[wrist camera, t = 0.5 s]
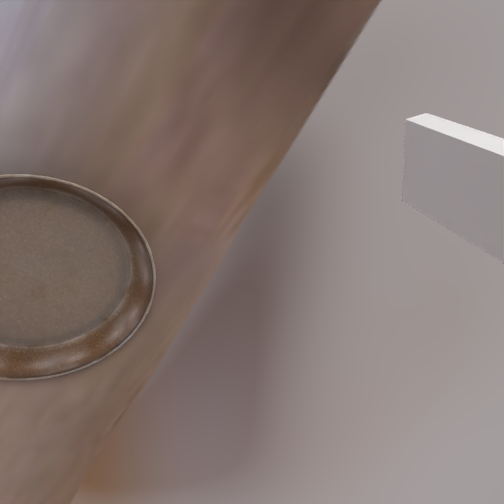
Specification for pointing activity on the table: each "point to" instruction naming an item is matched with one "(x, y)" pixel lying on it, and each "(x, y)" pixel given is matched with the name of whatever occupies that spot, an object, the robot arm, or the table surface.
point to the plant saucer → (66, 277)
